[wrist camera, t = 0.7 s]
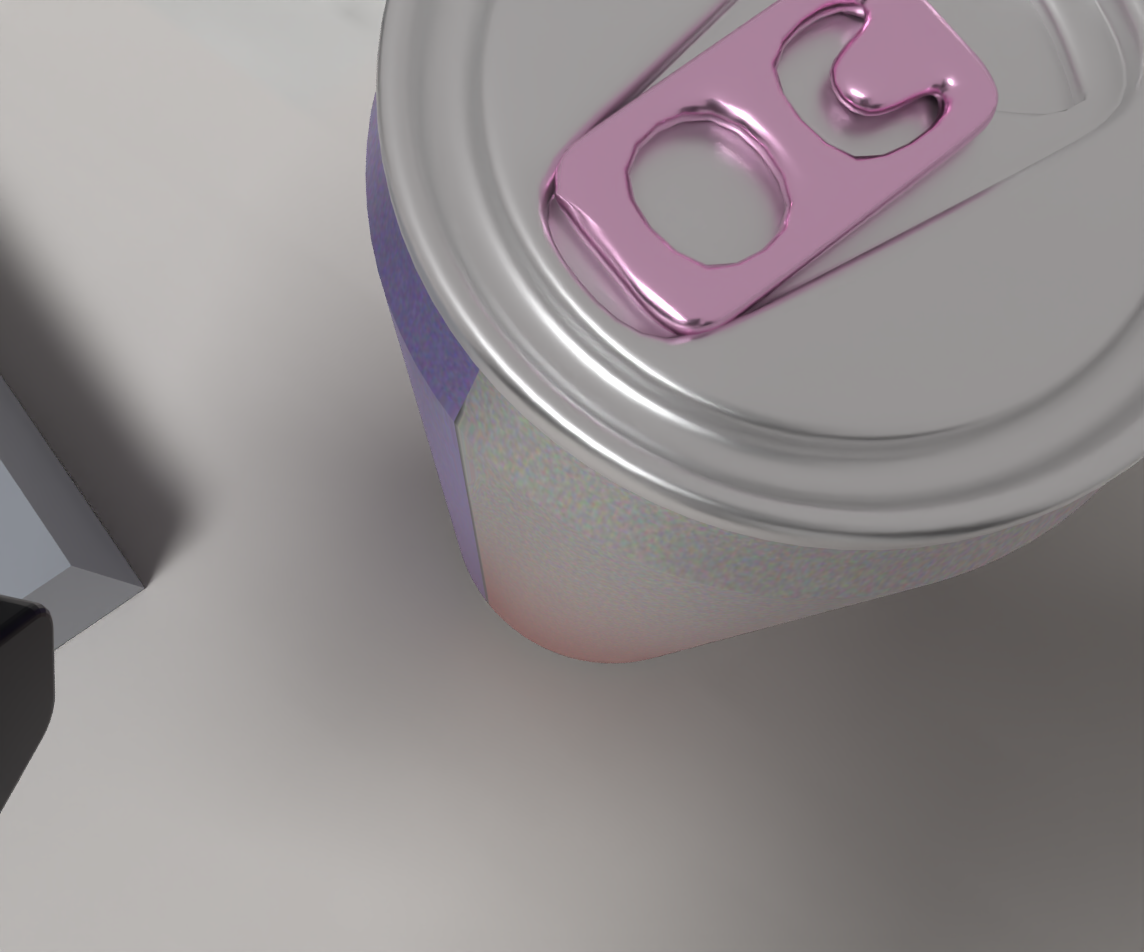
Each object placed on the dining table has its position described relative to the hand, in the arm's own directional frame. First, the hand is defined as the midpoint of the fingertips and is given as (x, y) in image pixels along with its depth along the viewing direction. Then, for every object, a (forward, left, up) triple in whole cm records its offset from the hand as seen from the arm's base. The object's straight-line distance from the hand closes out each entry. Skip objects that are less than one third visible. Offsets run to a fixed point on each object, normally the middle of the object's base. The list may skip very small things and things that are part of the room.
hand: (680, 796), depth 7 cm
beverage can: (+3, +3, -13) cm, 14 cm away
